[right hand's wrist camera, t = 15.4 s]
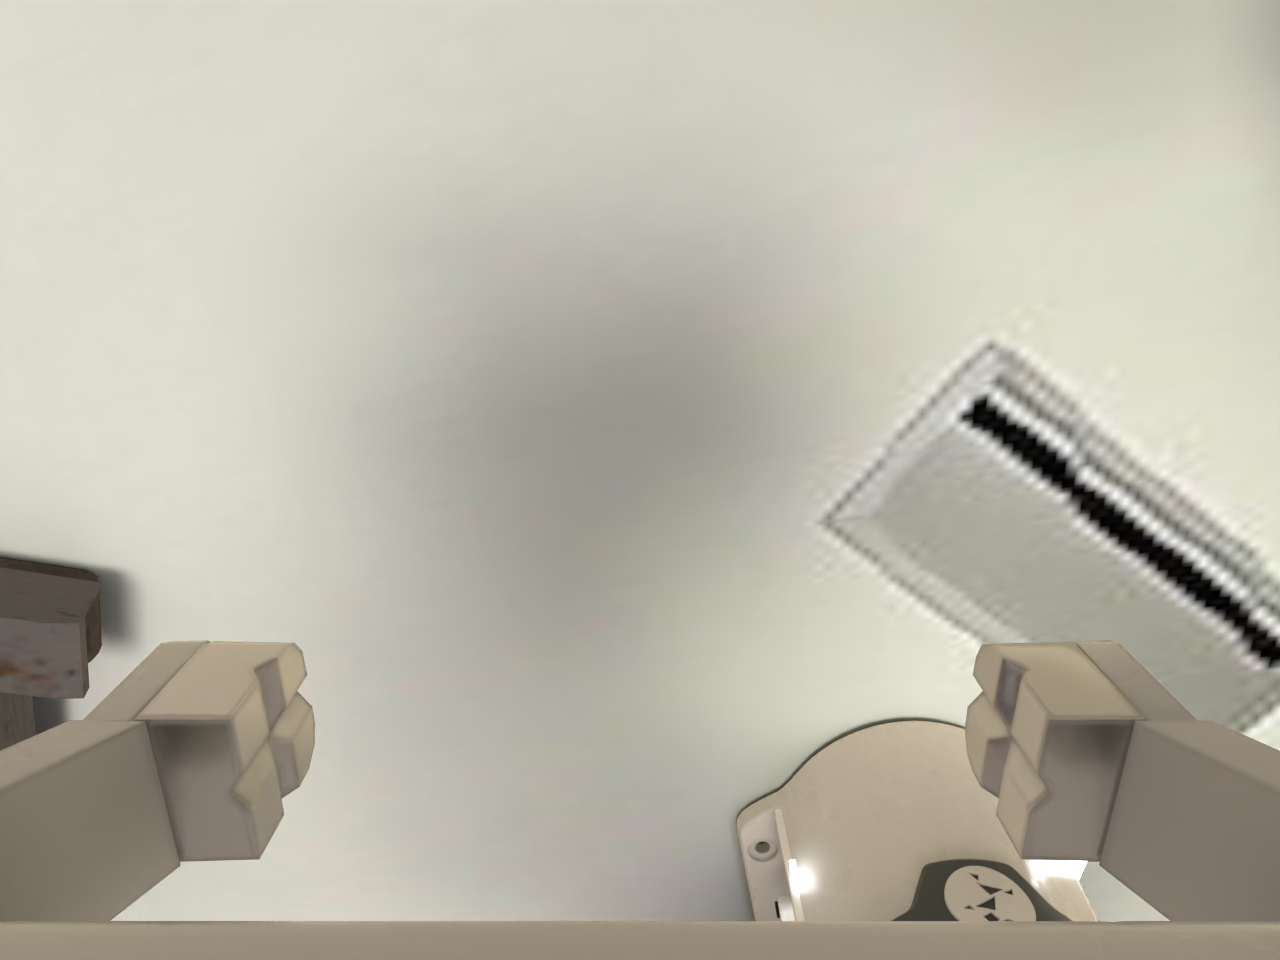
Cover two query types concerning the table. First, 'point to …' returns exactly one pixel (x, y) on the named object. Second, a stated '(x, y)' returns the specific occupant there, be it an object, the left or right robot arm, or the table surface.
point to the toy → (43, 639)
